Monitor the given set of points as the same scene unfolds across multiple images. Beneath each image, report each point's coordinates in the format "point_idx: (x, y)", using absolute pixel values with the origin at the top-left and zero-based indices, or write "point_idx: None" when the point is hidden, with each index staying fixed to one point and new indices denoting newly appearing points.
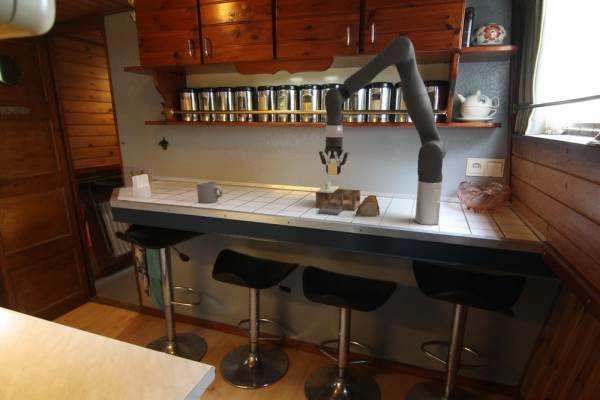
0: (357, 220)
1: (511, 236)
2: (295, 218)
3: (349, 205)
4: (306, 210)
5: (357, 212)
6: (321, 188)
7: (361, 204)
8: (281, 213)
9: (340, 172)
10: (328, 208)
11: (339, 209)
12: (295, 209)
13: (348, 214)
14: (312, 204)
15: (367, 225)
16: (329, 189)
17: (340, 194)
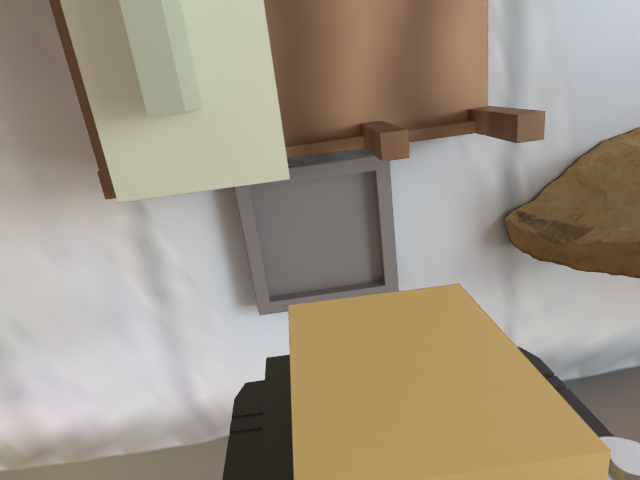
0: (537, 316)
1: None
2: (191, 442)
3: (448, 134)
4: (142, 274)
5: (537, 258)
6: (92, 76)
7: (598, 256)
8: (45, 405)
9: (527, 355)
10: (278, 185)
11: (385, 217)
12: (55, 288)
13: (454, 227)
14: (68, 87)
15: (602, 367)
16: (217, 89)
17: (388, 160)
